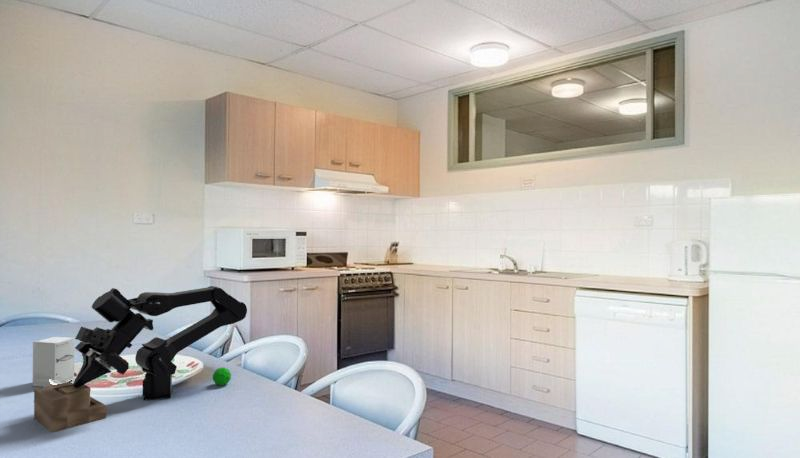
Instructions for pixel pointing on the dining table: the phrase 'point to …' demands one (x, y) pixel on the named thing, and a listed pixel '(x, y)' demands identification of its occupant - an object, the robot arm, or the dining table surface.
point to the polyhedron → (221, 376)
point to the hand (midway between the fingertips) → (74, 386)
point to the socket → (65, 407)
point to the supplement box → (53, 360)
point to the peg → (74, 390)
